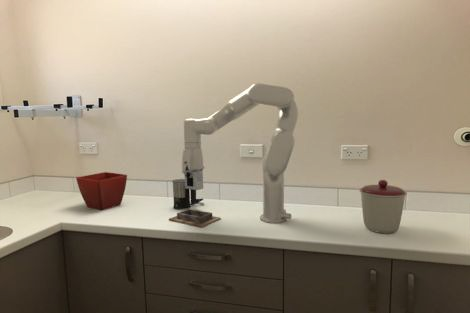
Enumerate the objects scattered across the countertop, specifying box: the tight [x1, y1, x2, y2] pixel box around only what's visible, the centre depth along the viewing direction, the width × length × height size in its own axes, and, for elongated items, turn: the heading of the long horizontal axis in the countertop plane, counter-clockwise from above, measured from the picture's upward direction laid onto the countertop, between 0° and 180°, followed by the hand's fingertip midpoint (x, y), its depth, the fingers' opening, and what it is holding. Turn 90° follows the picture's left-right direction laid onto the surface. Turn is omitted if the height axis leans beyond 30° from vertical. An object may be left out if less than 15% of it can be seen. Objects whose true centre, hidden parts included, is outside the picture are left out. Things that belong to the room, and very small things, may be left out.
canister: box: [359, 179, 408, 234], centre depth 141 cm, size 18×18×21 cm
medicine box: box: [184, 170, 204, 191], centre depth 156 cm, size 8×4×9 cm, turn 53°
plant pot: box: [75, 171, 128, 211], centre depth 184 cm, size 19×19×17 cm
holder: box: [168, 208, 222, 229], centre depth 158 cm, size 20×14×3 cm
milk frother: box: [171, 178, 204, 210], centre depth 182 cm, size 14×16×15 cm
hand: (193, 184), depth 157 cm, fingers closed on medicine box, 4 cm apart
